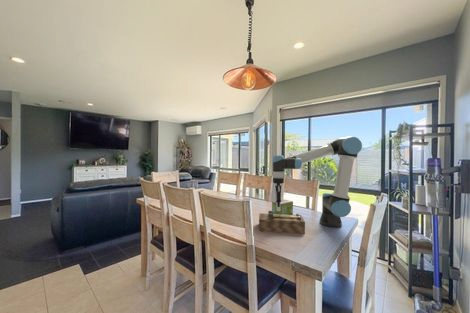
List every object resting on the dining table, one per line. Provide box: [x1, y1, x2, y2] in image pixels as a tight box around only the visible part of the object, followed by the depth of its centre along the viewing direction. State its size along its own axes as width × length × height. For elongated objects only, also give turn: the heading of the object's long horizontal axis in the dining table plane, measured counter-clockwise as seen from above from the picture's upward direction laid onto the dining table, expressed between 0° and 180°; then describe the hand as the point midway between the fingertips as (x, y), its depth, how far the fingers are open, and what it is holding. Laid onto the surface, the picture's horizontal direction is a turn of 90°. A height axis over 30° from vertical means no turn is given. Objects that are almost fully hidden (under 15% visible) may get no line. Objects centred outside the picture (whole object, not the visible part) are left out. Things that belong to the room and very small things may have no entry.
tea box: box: [271, 198, 294, 215], centre depth 165 cm, size 15×10×15 cm
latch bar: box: [273, 214, 300, 219], centre depth 145 cm, size 21×4×2 cm, turn 83°
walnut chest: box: [258, 210, 306, 234], centre depth 146 cm, size 30×14×11 cm, turn 83°
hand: (278, 210), depth 146 cm, fingers closed
